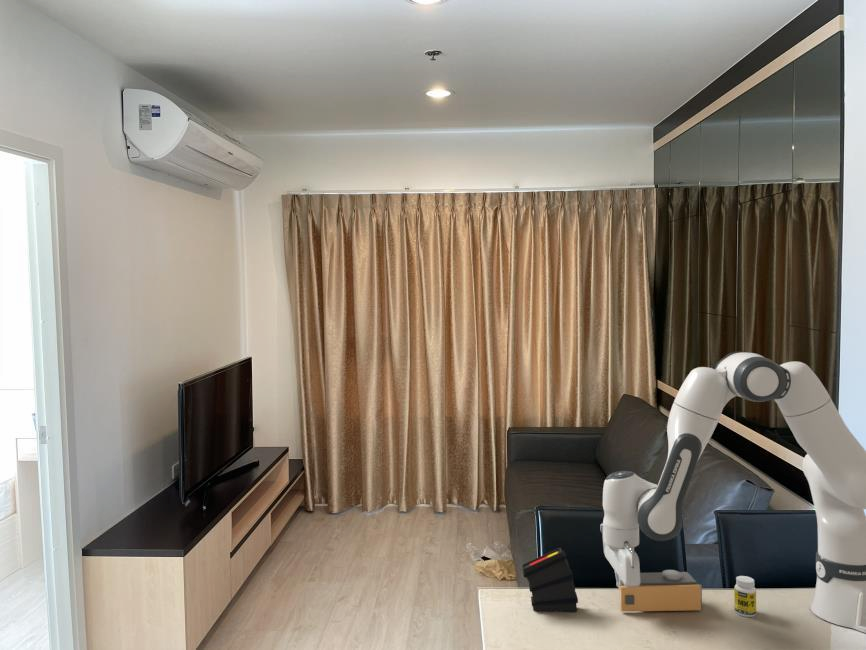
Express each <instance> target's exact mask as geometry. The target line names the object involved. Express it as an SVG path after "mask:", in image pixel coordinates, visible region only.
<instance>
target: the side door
mask: <svg viewBox="0 0 866 650" xmlns="http://www.w3.org/2000/svg"><path fill="white" fill-rule="evenodd" d="M702 589H703V586H702V584H697V585H649V586H638V587H627V586H620V590H619V593H620V594H619V596H620V602H619V603H620V604H619V605H620V612H626V613H627V612H664V611H665V612H667V611H668V612H669V611H673V612H675V611H676V612H677V611H702V610H703V590H702Z"/></svg>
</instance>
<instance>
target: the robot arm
mask: <svg viewBox="0 0 866 650" xmlns="http://www.w3.org/2000/svg"><path fill="white" fill-rule="evenodd" d="M675 396H676V397H674V400H673V403H672V405H671V409H670V411H669V414H668V420H667V424H666V432H667V441H668V451H667V458H666V461H665V465H664V468H663V470H662V472H661V475H660V479H659V481H658V484H656V483H653V482H651V481H648V480H646V479H644V478H641V477H640V476H639V475H637V474H636V473H635V472H633V471H630V470H629V471H627V470H619V471H615V472H614V471H613V472H612V473H610V474H608V475H607V476H606V477H605V480H604V482H603V488H602V508H603V513H604V516H603V521H602V523H601V524H600V526H599V527H600V532H601V534H602V546H603V554H604V557H605V558H606V560H607V561H608V562H609V564H610V565H611V567H612V568H613V570H614V574H615V575H614V576H615V580H616V587H617V588H618V590H619V591H620V586H627V587H638V586H639V585H640V573H641V569H640V568H641V567H640V558H639V556H638V554H637V553H636V551H635V548H636V547H637V546H639V545H640V530H641V532H642V533H643V534H644V535H645V536H646V537H647V538H650V539H652V540H655V541H658V542H665V541H669V540H673V539H674V538H676V537H677V536H678V535H679V534H680V533H681V531H682V528H683V524H684V517H683V503H684V500H685V499H684V498H685V497H686V493H687V491H688V488H689V486H690V483H691V481H692V477H693V474H694V472H695V469H696V466H697V464H698V462H699V460H700V458H701V456H702V454H703V452H704V450H705V448H706V446H707V444H708V443H709V441H710V439H711V438H712V435H713V434H714V431H715V429H716V428H717V425H718V423H719V421H720V418H721V415H722V414H723V413H722V412H723V410H724V408H725V407H726V405H727V404H728V402H729V401H731V399H733V398H735V397H740V398H743V399H745V400H747V401H750V402H753V403H755V402H756V403H763V402H769V401H774V402H775V403H776V404H777V406H778V408H779V410H780V413H781V414H782V417H783V418H784V420H785V422H786V424H787V425H788V427H789V429H790V431H791V432H792V434H793V437H794V438H795V440H796V443H797V444H798V445H799V446H800V447H801V448H802V449H803V450H804V452H806V454H805V456H804V458H803V460H802V464H801V465H802V466H801V467H802V471H803V474H804V476H805V478H806V480H807V482H808V485H809V489H810V493H811V497H812V498H811V499H812V502H813V506H814V511H815V516H816V523H817V551H816V552H815V571H816V572H815V573H816V584H815V589H814V593H813V598H812V602H811V604H810V610H811V612H812V613H813V614H814V615H816V617H818V618H820V619H822V620H824V621H826V622H828V623H832V624H835V625H837V626H841V627H845V628H850V629H854V630H857V631H858V632H861V633H865V634H866V513H865V511H864V510H866V449H865V448H864V447H863V445H862V444H861V443H860V442H859V440H858V439H857V438H856V437H855V436H854V434H853V433H852V432H851V431H850V429H849V428H848V426H847V425H846V423H845V422H844V419H843V418H842V416H841V414H840V412H839V411H838V409H837V407H836V405H835V403H834V402H833V399H832V398H831V396H830V394H829V393H828V390H827V389H826V387H825V386H824V385H823V383H822V382H821V380H820V378H819V377H818V376H817V374H816V373H815V372H814V370H812V369H811V367H809V365H808V364H806V363H804V362H802V361H793V360H792V361H787V362H784V363H782V364H778V363H776V362H775V361H773V360H772V359H770V358H767V357H765V356H763V355H761V354H759V353H754V352H748V351H743V350H741V351H740V350H739V351H733V352H730V353H728V354H726V355H725V356H724V357H723V358H721V359H720V360H719V361H718V362H716V363H715V364H714V365H713V366H711V367H708V366H707V367H706V366H698V367H696V368H693V369H692V370H691V371H690V372H689V374H687V376H686V378H685V379H684V381H683V382H682V384H681V386H680V388H679V390H678V392H677V393H676V395H675Z"/></svg>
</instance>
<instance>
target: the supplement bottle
mask: <svg viewBox="0 0 866 650" xmlns="http://www.w3.org/2000/svg"><path fill="white" fill-rule="evenodd" d="M735 581H736V583H735V585H734V591H733V592H734V596H733V597H734V605H733V607H734V612H735V613H736V614H737V615H738V616H742V617H746V618H752V617H755V616H757V589H756V587H755V579H754V578H752V577H750V576H748V575H746V576H745V575H739V576H736V577H735Z"/></svg>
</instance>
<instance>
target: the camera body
mask: <svg viewBox="0 0 866 650" xmlns="http://www.w3.org/2000/svg"><path fill="white" fill-rule="evenodd" d="M649 585H698V583H697V581H696V580H695V579H694V578H693V577H692V575H691V574H690V573H688V571H678V570H675V569H665V570H662V571H661V572H640V585H639V586H649Z"/></svg>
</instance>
